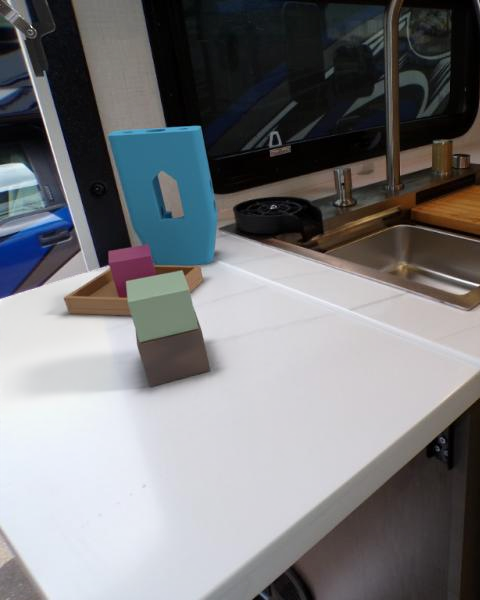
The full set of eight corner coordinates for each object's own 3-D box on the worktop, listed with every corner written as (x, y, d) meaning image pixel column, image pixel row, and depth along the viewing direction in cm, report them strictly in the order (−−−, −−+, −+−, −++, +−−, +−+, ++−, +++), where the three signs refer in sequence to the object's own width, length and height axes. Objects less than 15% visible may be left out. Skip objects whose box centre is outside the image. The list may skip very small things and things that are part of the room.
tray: (68, 313, 68) (63, 297, 67) (120, 278, 78) (115, 264, 77) (163, 316, 66) (159, 300, 65) (203, 280, 76) (200, 265, 75)
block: (142, 270, 80) (105, 136, 71) (149, 258, 85) (115, 130, 76) (223, 261, 83) (197, 130, 74) (225, 250, 87) (201, 125, 78)
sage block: (139, 343, 51) (127, 301, 49) (136, 319, 55) (125, 280, 53) (198, 329, 53) (189, 289, 51) (191, 307, 57) (182, 269, 55)
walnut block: (149, 387, 53) (136, 345, 50) (145, 359, 58) (134, 319, 55) (210, 370, 55) (201, 329, 53) (202, 344, 60) (193, 306, 58)
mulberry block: (120, 301, 69) (108, 263, 66) (119, 287, 73) (108, 251, 70) (160, 293, 71) (150, 255, 68) (157, 280, 75) (148, 244, 72)
